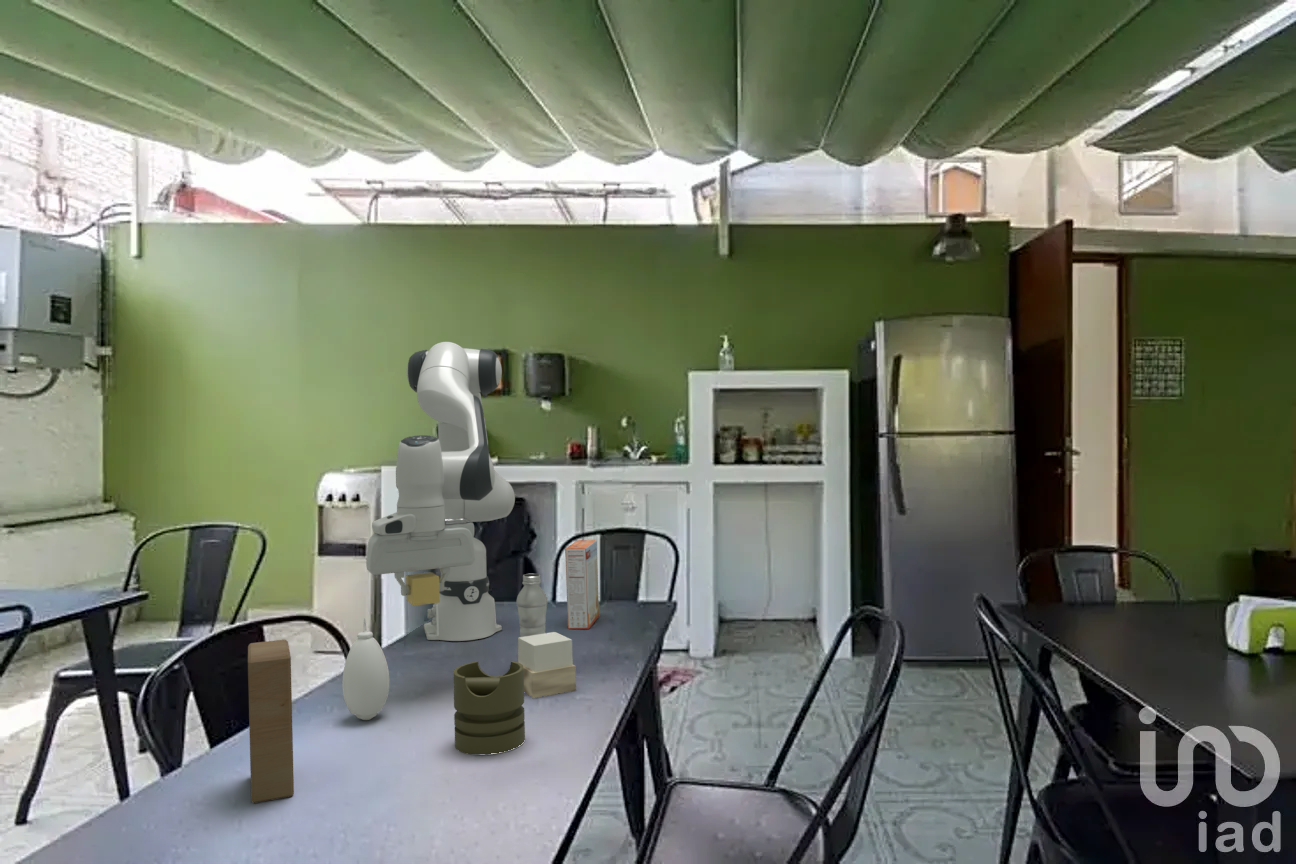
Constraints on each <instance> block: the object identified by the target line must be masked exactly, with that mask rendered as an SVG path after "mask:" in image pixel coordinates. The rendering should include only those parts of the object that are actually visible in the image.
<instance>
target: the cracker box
mask: <svg viewBox="0 0 1296 864" xmlns="http://www.w3.org/2000/svg"><path fill="white" fill-rule="evenodd" d="M564 551H565V552H564V554H565V578H566V579H565V581H566V608H567V609H566V610H567V629H568V630H589V629H590V628H591V627H592V626H593V625H594V623H595V622H596V621H597V620H598V618H599V617H600V601H599V574H598V573H599V571H598V570H599V569H598V541H597V539H595V540H593V539H578V540H576V541H574V542H572V544H570V545H568V546H567V547H565V549H564Z"/></svg>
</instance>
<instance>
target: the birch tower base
mask: <svg viewBox="0 0 1296 864" xmlns="http://www.w3.org/2000/svg"><path fill="white" fill-rule="evenodd" d="M517 662H518V661H517ZM518 663H519V662H518ZM576 667H577V666H576V665H575V664H573V665H571V666H566V667H560V668H555V669H549V670H543V671H538V672H534V671H532V670H530V669H529V668H527V667H525V666H523V668H524V692H525V693H524V694H526V695H527V694H528V695H527V696H529V697H530V696H531V697H530V698H532V699H537V698H536V697H538V698H543V697H542V696H544V697H548V696H547V695H549V696H554V695H559V694H558V693H560V694H565V693H569V692H574V691H575V690H576V691H577V679H576V678H577V676H576V675H577V671H576V670H577V669H576ZM576 691H575V692H576ZM564 692H565V693H564Z"/></svg>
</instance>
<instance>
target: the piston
mask: <svg viewBox="0 0 1296 864" xmlns="http://www.w3.org/2000/svg"><path fill="white" fill-rule="evenodd" d="M452 675H453V678H452V679H453V709H455V710H456V711H455V712H454V715H453V716H454V719H453V722H454V747H455V749H456V750H457V751H458V750H459V751H458V752H460V751H461V752H460V753H463V754H466V753H468V754H467V755H471V754H491V753H499V752H504V751H508V750H511V749H513V748H516V747H518V746H519V745H521V744H522V743H523V742H524V740H525V741H526V727H525V723H526V722H525V716H526V715H525V707H524V706H523V705H524V703H525V693H524V668H523V665H522V664H521V663H518V661H514V660H510V667H509V669H508V670H507V672H505V673H504V674H500V675H498V676H497V675H495V676H494V675H490V674H488V673H487V672H484V671H483V670H482V669H481V667H480V664H479V661H472V662H468V663H467V662H466V663H465V664H464V663H463V664H461V665H458V666H457V667H455V669H454V670H453V674H452ZM524 743H525V742H524ZM524 743H523V744H524ZM523 744H522V745H523ZM522 745H521V746H522ZM518 748H519V747H518ZM516 749H517V748H516ZM511 751H512V750H511ZM508 752H509V751H508Z"/></svg>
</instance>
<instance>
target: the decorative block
mask: <svg viewBox="0 0 1296 864" xmlns="http://www.w3.org/2000/svg"><path fill="white" fill-rule="evenodd" d="M291 660H292V659H291V652H290V645H289V641H288V640H287V639H276V640H269V641H267V640H266V641H259V642H251V643H249V644H248V646H247V681H248V719H249V720H248V721H249V725H248V726H249V758H250V760H249V761H250V762H249V763H250V768H249V769H250V798H251V799H250V802H251V803H253V804H258V803H259V804H260V803H264V802H269V801H275V800H282V799H285V798H291V797H293V796H294V793H295V787H294V786H295V784H294V783H295V781H294V778H295V777H294V744H293V743H294V742H293V740H294V739H293V735H294V734H293V706H292V705H293V698H292V697H293V695H292V693H293V692H292V661H291Z"/></svg>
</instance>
